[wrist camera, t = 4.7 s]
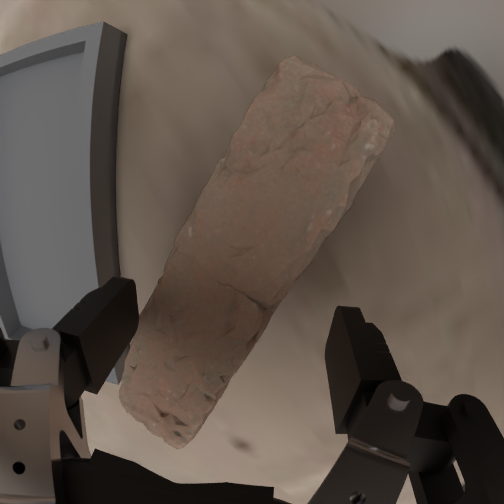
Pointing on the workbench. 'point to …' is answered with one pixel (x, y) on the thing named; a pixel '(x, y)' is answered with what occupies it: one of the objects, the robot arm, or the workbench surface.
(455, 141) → the workbench surface
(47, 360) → the robot arm
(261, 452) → the workbench surface
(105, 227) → the tray
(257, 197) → the brick
